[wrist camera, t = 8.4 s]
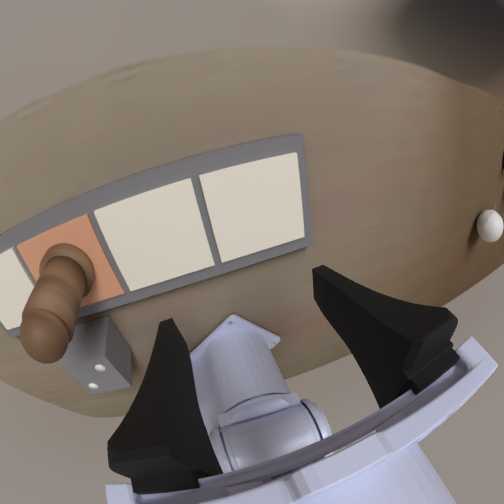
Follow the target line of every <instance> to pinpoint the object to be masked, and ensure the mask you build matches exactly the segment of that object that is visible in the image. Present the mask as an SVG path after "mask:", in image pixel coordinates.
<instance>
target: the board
mask: <svg viewBox="0 0 504 504" xmlns="http://www.w3.org/2000/svg"><path fill="white" fill-rule="evenodd" d="M59 243H68V244H72V245H75V246H77V247H79V248H80V249H81V250H83V251H84V252H85V253H86V254H87V255H88V256H89V258H90V259H91V261H92V263H93V266H94V271H95V277H94V281H93V285H92V288H91V291H90V292H89V294H88V295H87V296H86V297H84V298H83V299H82V302H81V305H80V309H79V313H78V317H77V319H78V318H81V317H84V316H88V315H91V314H94V313H98V312H101V311H104V310H108V309H111V308H114V307H118V306H121V305H124V304H128V303H131V302H134V301H137V300H141V299H144V298H147V297H150V296H154V295H157V294H160V293H163V292H167V291H170V290H173V289H176V288H179V287H183V286H186V285H189V284H192V283H195V282H199V281H202V280H205V279H208V278H211V277H214V276H218V275H221V274H224V273H227V272H230V271H233V270H236V269H240V268H243V267H246V266H249V265H252V264H255V263H258V262H261V261H264V260H267V259H271V258H274V257H277V256H280V255H283V254H286V253H289V252H292V251H295V250H298V249H301V248H304V247H307V246H310V245H312V239H311V222H310V207H309V193H308V181H307V170H306V160H305V150H304V141H303V134H299V133H293V134H287V135H281V136H276V137H271V138H266V139H261V140H256V141H251V142H246V143H242V144H237V145H233V146H229V147H225V148H221V149H217V150H213V151H209V152H205V153H201V154H197V155H194V156H190V157H187V158H183V159H180V160H176V161H173V162H170V163H167V164H163V165H160V166H157V167H154V168H151V169H148V170H145V171H142V172H139V173H136V174H133V175H130V176H127V177H125V178H122V179H119V180H117V181H114V182H111V183H109V184H106V185H103V186H101V187H98V188H96V189H93V190H91V191H89V192H86V193H84V194H81V195H79V196H77V197H74V198H72V199H70V200H68V201H65V202H63V203H61V204H59V205H57V206H54V207H52V208H50V209H48V210H46V211H44V212H42V213H40V214H38V215H36V216H34V217H32V218H30V219H28V220H26V221H24V222H22V223H20V224H18V225H17V226H15V227H13V228H11V229H9V230H7V231H6V232H4V233H2V234H0V325H1V326H2V327H3V329H4V330H5V331H6V332H7V334H8V335H9V336H10V337H11V338H12V337H16V336H19V335H20V325H21V322H22V312H23V309H24V307H25V305H26V303H27V301H28V298H29V296H30V294H31V292H32V290H33V288H34V286H35V284H36V282H37V280H38V278H39V276H40V275H39V265H40V262H41V260H42V258H43V256H44V255H45V253H46V251H47V250H48V249H49V248H50V247H52V246H53V245H56V244H59Z"/></svg>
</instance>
